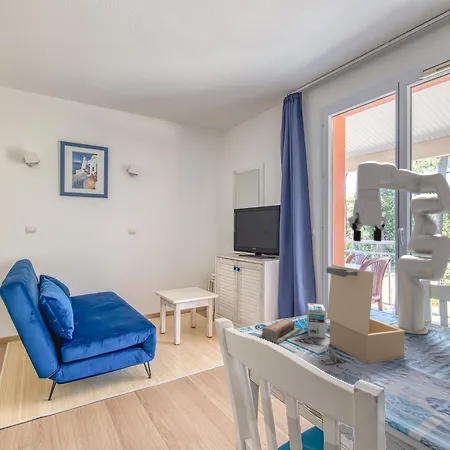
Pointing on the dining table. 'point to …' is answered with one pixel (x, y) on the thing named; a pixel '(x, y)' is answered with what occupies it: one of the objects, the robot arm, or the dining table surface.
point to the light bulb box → (316, 320)
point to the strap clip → (331, 359)
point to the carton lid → (350, 297)
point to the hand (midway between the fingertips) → (367, 241)
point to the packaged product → (279, 331)
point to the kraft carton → (369, 341)
